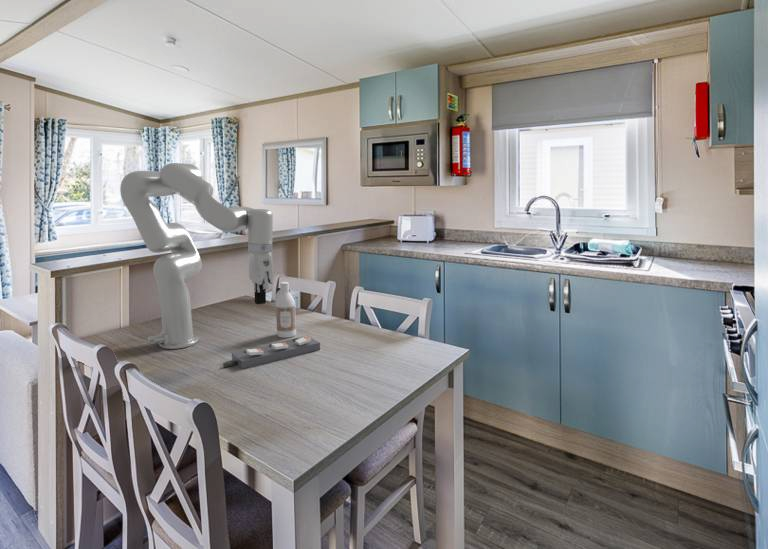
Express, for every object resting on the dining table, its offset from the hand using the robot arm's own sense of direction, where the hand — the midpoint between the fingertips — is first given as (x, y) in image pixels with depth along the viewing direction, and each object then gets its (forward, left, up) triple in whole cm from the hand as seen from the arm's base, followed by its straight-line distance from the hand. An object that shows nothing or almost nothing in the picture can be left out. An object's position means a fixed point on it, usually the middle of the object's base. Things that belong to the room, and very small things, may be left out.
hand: (260, 303), depth 149 cm
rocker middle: (+3, -8, -14) cm, 16 cm away
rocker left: (-6, -8, -14) cm, 17 cm away
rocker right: (+11, -8, -14) cm, 19 cm away
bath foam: (+14, +10, -17) cm, 24 cm away
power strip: (+1, -6, -17) cm, 18 cm away
